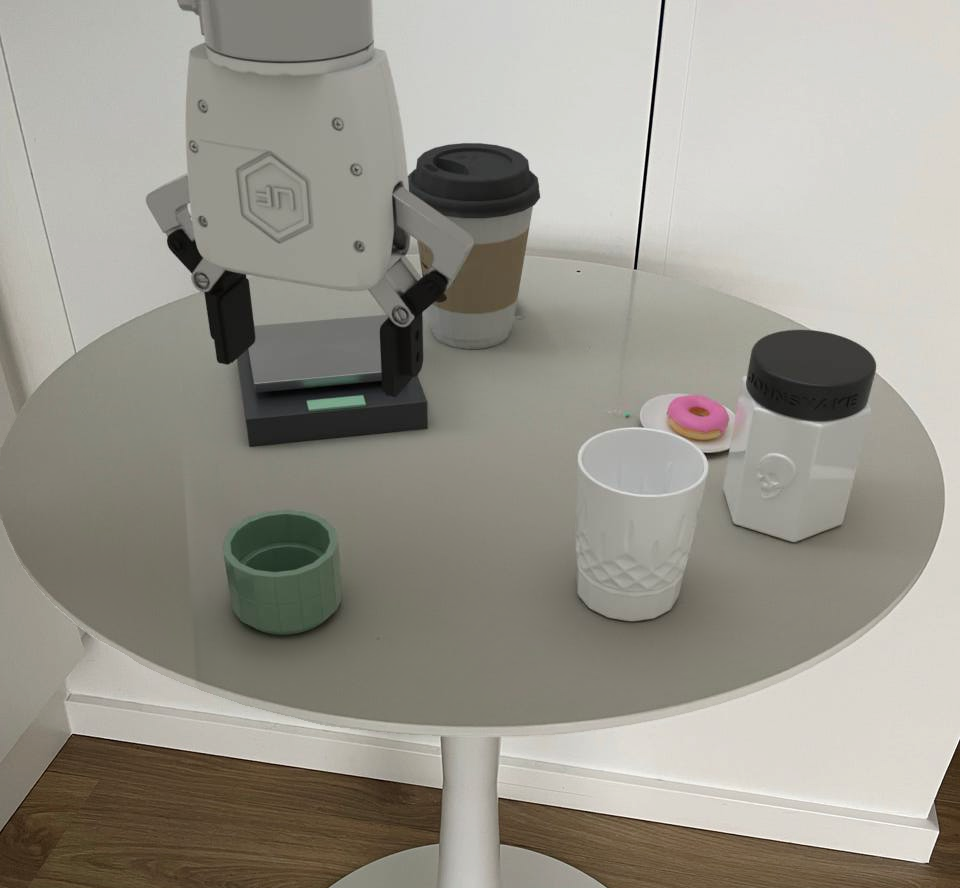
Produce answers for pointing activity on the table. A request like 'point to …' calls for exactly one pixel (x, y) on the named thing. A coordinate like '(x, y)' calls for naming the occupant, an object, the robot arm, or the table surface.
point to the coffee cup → (478, 236)
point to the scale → (327, 410)
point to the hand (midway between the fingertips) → (317, 368)
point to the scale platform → (316, 353)
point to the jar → (798, 433)
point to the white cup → (636, 519)
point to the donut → (690, 420)
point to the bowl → (283, 571)
